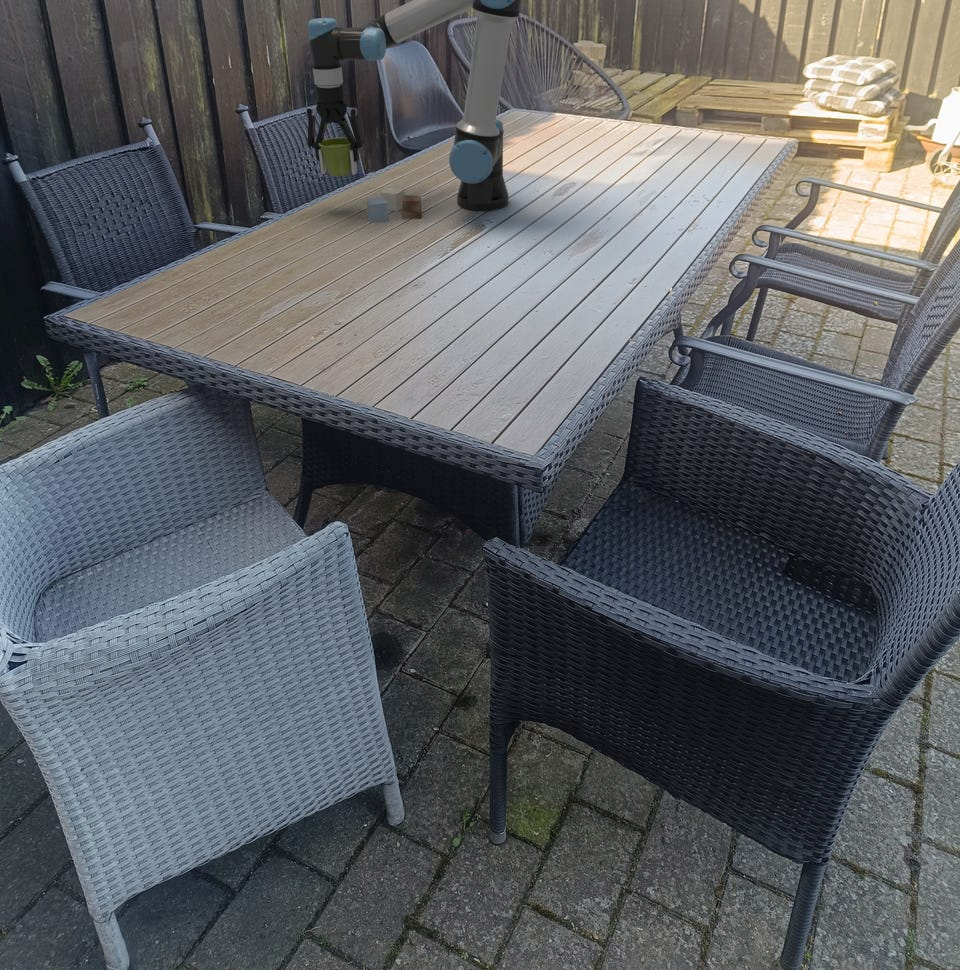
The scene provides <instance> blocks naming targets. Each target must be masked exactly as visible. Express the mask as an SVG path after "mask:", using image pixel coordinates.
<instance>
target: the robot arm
mask: <svg viewBox="0 0 960 970" xmlns="http://www.w3.org/2000/svg"><path fill="white" fill-rule="evenodd" d="M522 2H523V1H522V0H410V1H409V2H407V3H404V4H403V5H400V6H398V7H397V8H394V9H392V10H391V11H388V12H387V13H384V14H382V15H380V16H378V17H376V18H373V19H371V20H368V22H366V23H364V24H362V25H360V26H358V27H339V26H338V22H337V20H336V19H335V18H331V17H319V18H313V19H310V20H309V21H308V24H307V30H308V31H307V32H308V42H309V49H310V50H309V51H310V58H311V65H312V73H313V81H314V85H316V86H315V89H314V90H315V98H316V102H317V103H316V105H315V107H313V106H310V107H308V108H306V114H307V117H308V123H307V124H308V126H307V146H308V147H310V148H313V149H314V150H315V157H316V158H315V159H316V161H317V162H319V165H320V166H319V167H320V173H321V175H325V173H327V172H328V169H327V165H326V162H325V158H324V155H323V151H322V150H321V146H319V143H321V142H322V141H323V140H324V137H325V134H326V130H327V126H328V124H332V123H333V124H334V123H335V124H338V125H339V127H340V128H341V130H342V132H343V133H344V135H345V138H347V140H348V142H349V143H351V147H352V148H351V150H350V159H351V174H352V175H353V176H355V175H356V174H357V173H358V162H359V161H360V152H359V151H360V150H359V149H360V148H362V147H363V146H365V140H364V135H363V132H362V128H361V125H360V120H359V118H358V115H359V114H358V112H359V110H358V108H357V106H355V107H349V106H348V105H347V104H346V96H345V95H346V94H345V86H344V85H343V83H344V80H343V79H344V78H343V69H342V61H360V62H361V61H364V62H365V61H368V62H373V61H382V60H383V59H384V58H385V56H386V55H385V54H386V52H387V49H388V48H391V47H393V46H395V45H396V44H399V43H401V42H403V41H405V40H407V39H409V38H412V37H413V36H416V35H417V34H418V35H419V34H420V33H422V32H425V31H426V30H428V29H430V28H433V27H434V26H437V25H439V24H441V23H443V22H445V21H446V22H447V21H448V20H449V19H453V18H455V17H456V16H458V15H461V14H463V13H465V12H467V11H469V10H471V9H472V11H473V13H474V14H475V15H476V23H475V31H474V38H473V45H472V46H473V47H472V53H471V54H472V55H471V61H470V66H469V67H470V68H469V75H468V81H467V82H468V83H467V89H466V96H465V102H464V103H465V104H464V111H463V118H462V119H461V120H459V121H458V122H457V123H456V127H455V128H456V129H455V134H454V141H453V147H452V148H451V150H450V152H449V155H448V156H449V159H448V160H449V162H448V163H449V167H450V170H451V172H452V174H453V175H454V176H455V177H456V178H457V179H458V180H459V181H460V184H459V188H458V191H457V194H456V204H457V205H458V206H459V207H460V208H463V209H467V210H472V211H493V210H498V209H503V208H505V207H506V206H508V204H509V200H510V199H509V192H508V189H507V185H506V182H505V179H504V171H503V170H504V164H503V161H504V160H503V159H504V134H505V133H504V131H505V130H504V124H503V122H502V121H501V120H498V119H497V117H498V110H499V104H500V97H501V90H502V84H503V80H504V79H503V78H504V73H505V66H506V62H507V61H506V60H507V54H508V47H509V41H510V35H511V34H510V33H511V28H512V25H513V23H514V22H515V21H516V20H518V19H519V17H520V12H521V7H522ZM317 113H318V114H317ZM346 114H348V116H349V117H350V121H351V126H352V129H353V132H352V130H351V128H350V126H349V123H348V120H347V118H346V117H345V115H346ZM317 115H319V116H320V117H321V119H320V124H319V128H318V132H317V135H316V116H317Z"/></svg>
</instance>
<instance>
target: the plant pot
mask: <svg viewBox="0 0 960 970" xmlns="http://www.w3.org/2000/svg"><path fill="white" fill-rule="evenodd" d="M319 146H321V150H322V151H323V155H324V158H325V162H326V167H327V172H328V175H329V176H331V177H334V178H335V177H338V178H340V177H343V176H349V175H350V174H352V168H351V159H350V150H351V149H352V147H351V143H349V142H348V140H347V138H346V137H330V138H325V139H323V141H322V142H321V143H319Z"/></svg>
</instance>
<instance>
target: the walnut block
mask: <svg viewBox="0 0 960 970" xmlns="http://www.w3.org/2000/svg"><path fill="white" fill-rule="evenodd" d="M401 210H402V219H405V220H409V219H421V218H422V210H423V209H422V195H420V194H417V195H416V194H415V195H411V194H410V195H405V196H403V199H402V209H401Z"/></svg>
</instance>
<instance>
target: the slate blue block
mask: <svg viewBox="0 0 960 970" xmlns="http://www.w3.org/2000/svg"><path fill="white" fill-rule="evenodd" d="M365 200H366V211H367V212H366V213H367V218H368V220H369V222H370V223H377V222H380V223H381V222H387V221H388V222H389V210H388V206H387V202H386V200H385V199H384V198H381V197H379V198H378V197H376V198H375V197H374V198H367V199H365Z"/></svg>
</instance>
